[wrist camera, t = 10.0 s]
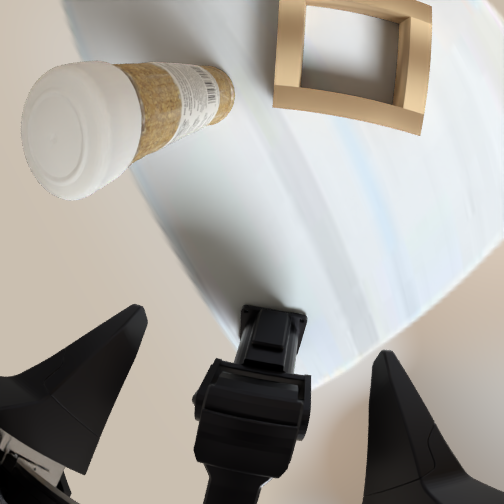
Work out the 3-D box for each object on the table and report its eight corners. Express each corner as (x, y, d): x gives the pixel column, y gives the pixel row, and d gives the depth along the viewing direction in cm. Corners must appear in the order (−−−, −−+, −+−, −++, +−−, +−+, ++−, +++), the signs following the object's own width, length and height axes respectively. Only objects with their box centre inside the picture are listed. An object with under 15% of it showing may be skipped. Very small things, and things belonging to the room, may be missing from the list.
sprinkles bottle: (171, 74, 16) (7, 99, 5) (232, 60, 15) (88, 37, 4) (182, 131, 19) (38, 212, 8) (242, 121, 18) (123, 196, 7)
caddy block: (407, 129, 15) (420, 136, 13) (277, 104, 16) (272, 107, 14) (418, 13, 10) (431, 6, 8) (284, -13, 11) (280, -26, 9)
